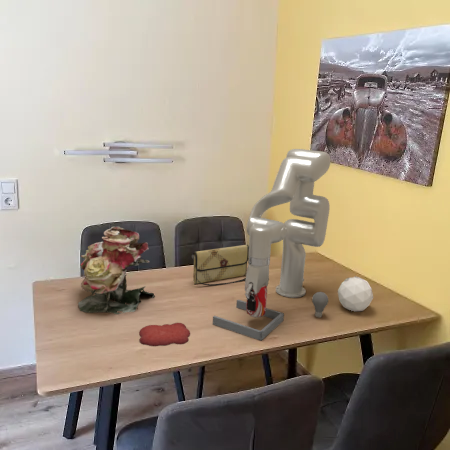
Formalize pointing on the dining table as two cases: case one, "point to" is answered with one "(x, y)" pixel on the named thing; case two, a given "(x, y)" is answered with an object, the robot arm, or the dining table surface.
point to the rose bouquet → (112, 272)
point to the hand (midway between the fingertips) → (256, 305)
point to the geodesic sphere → (355, 294)
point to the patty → (164, 334)
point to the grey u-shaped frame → (250, 331)
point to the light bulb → (319, 303)
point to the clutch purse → (220, 264)
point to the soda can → (259, 302)
